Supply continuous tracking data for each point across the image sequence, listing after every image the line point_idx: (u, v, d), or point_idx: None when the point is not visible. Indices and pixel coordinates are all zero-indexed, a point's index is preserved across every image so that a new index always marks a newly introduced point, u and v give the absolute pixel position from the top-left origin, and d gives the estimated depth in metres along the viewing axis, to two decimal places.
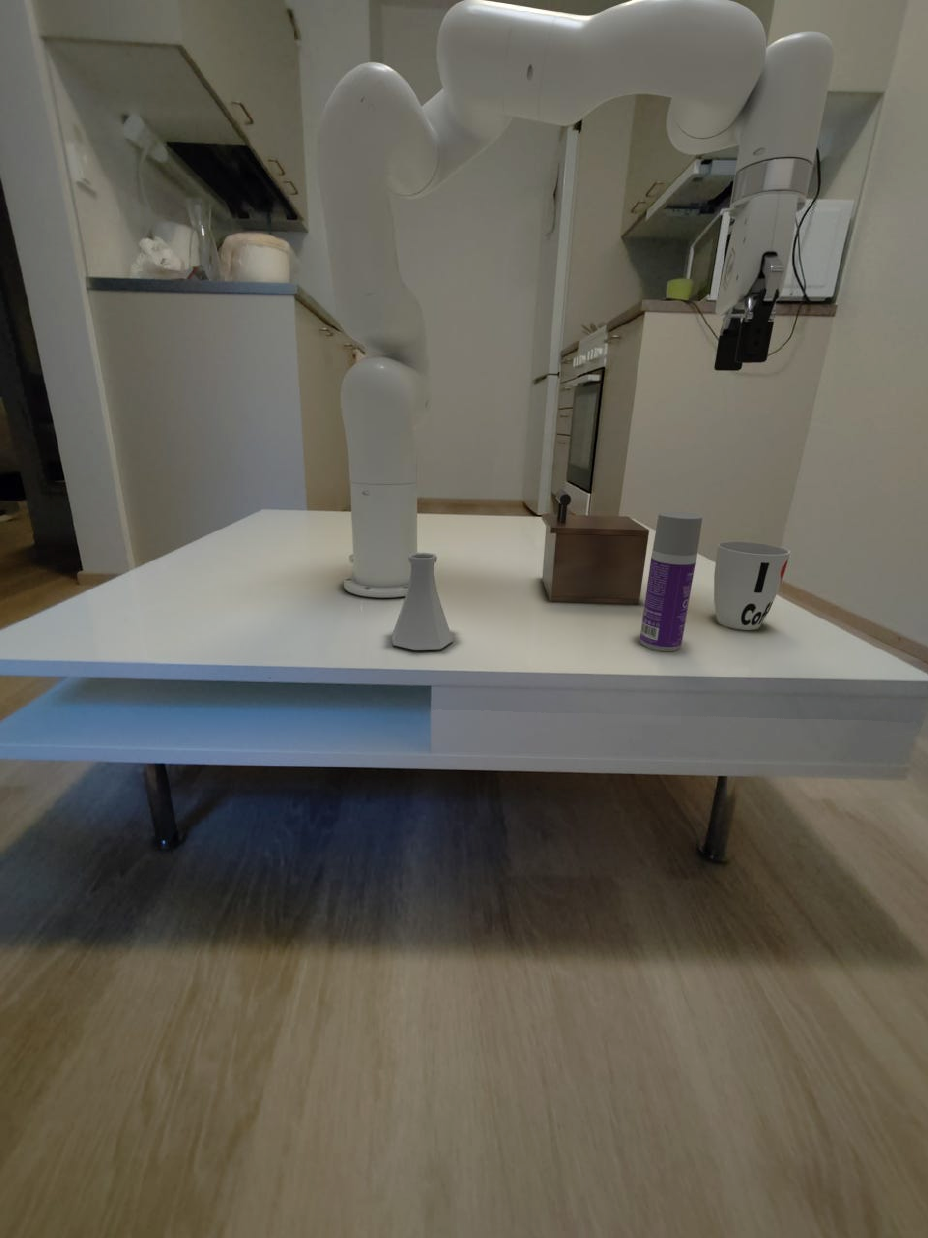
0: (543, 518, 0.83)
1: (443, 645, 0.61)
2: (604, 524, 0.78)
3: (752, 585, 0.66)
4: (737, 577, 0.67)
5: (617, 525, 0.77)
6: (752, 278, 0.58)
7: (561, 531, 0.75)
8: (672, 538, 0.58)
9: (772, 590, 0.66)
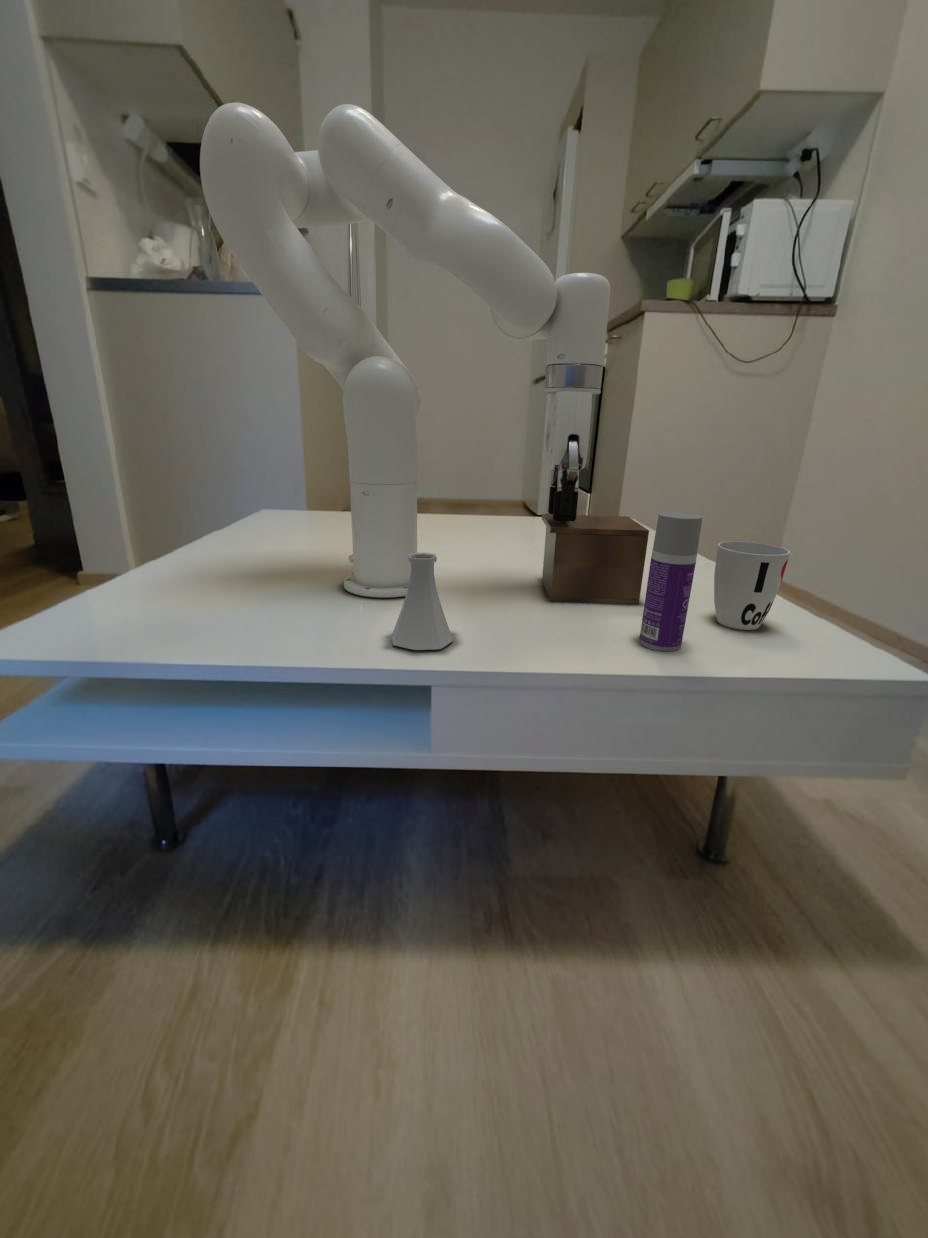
0: (543, 518, 0.83)
1: (443, 645, 0.61)
2: (604, 524, 0.78)
3: (752, 585, 0.66)
4: (737, 577, 0.67)
5: (617, 525, 0.77)
6: (562, 453, 0.72)
7: (561, 531, 0.75)
8: (672, 538, 0.58)
9: (772, 590, 0.66)
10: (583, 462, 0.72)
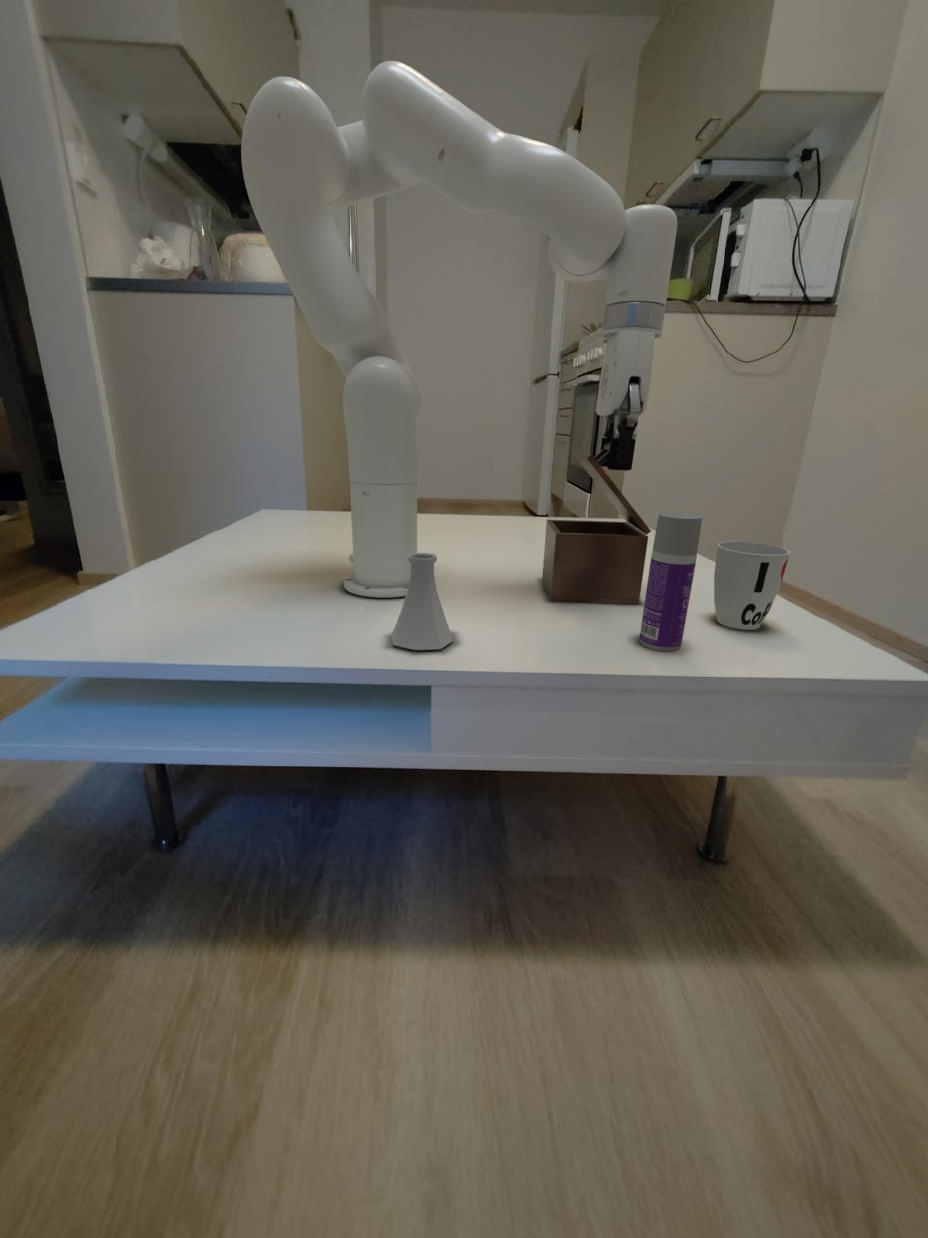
0: (578, 452, 0.80)
1: (443, 645, 0.61)
2: None
3: (752, 585, 0.66)
4: (737, 577, 0.67)
5: None
6: (622, 396, 0.69)
7: (595, 466, 0.72)
8: (672, 538, 0.58)
9: (772, 590, 0.66)
10: (643, 406, 0.70)
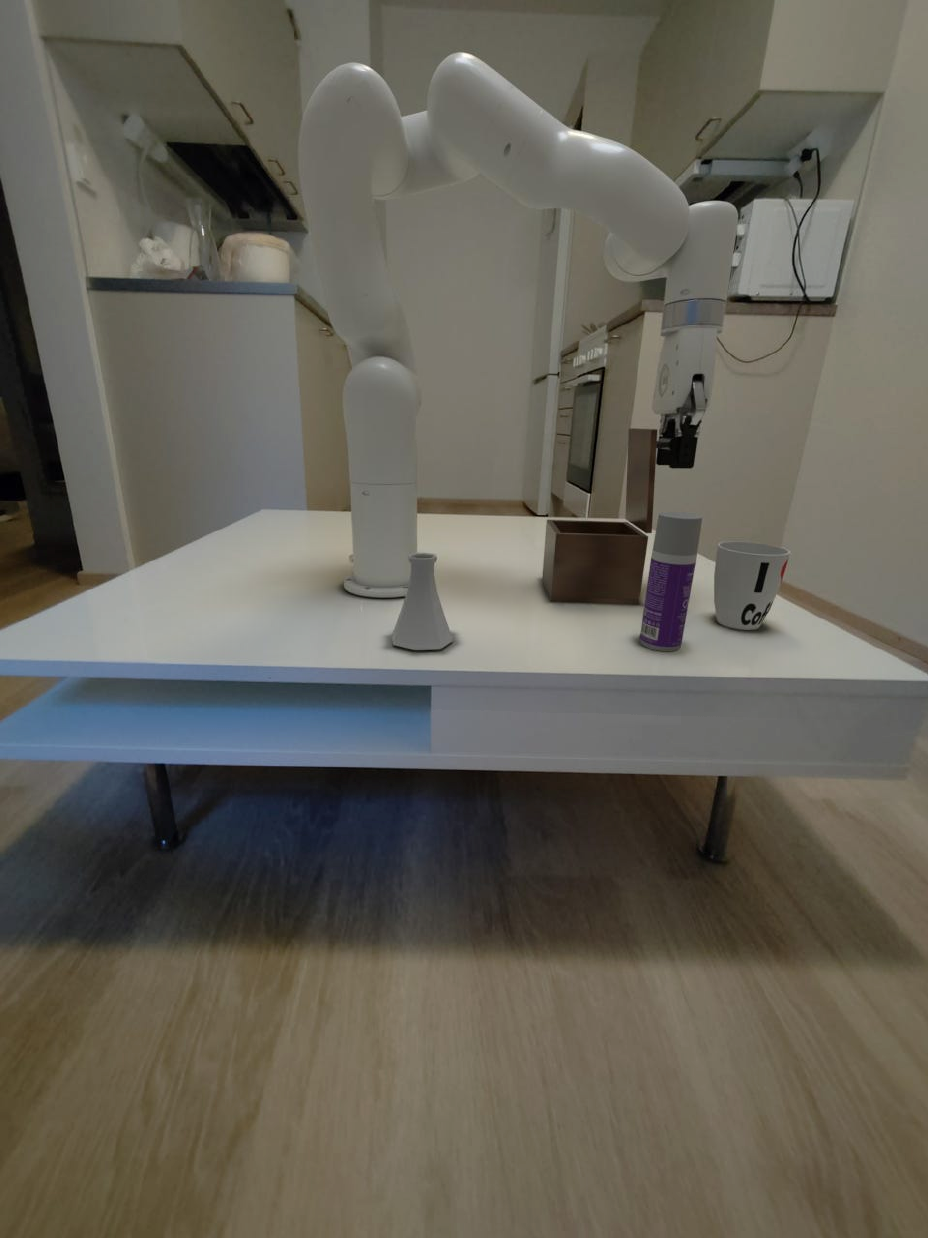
0: None
1: (443, 645, 0.61)
2: None
3: (752, 585, 0.66)
4: (737, 577, 0.67)
5: None
6: (685, 394, 0.69)
7: (652, 441, 0.70)
8: (672, 538, 0.58)
9: (772, 590, 0.66)
10: (707, 403, 0.70)
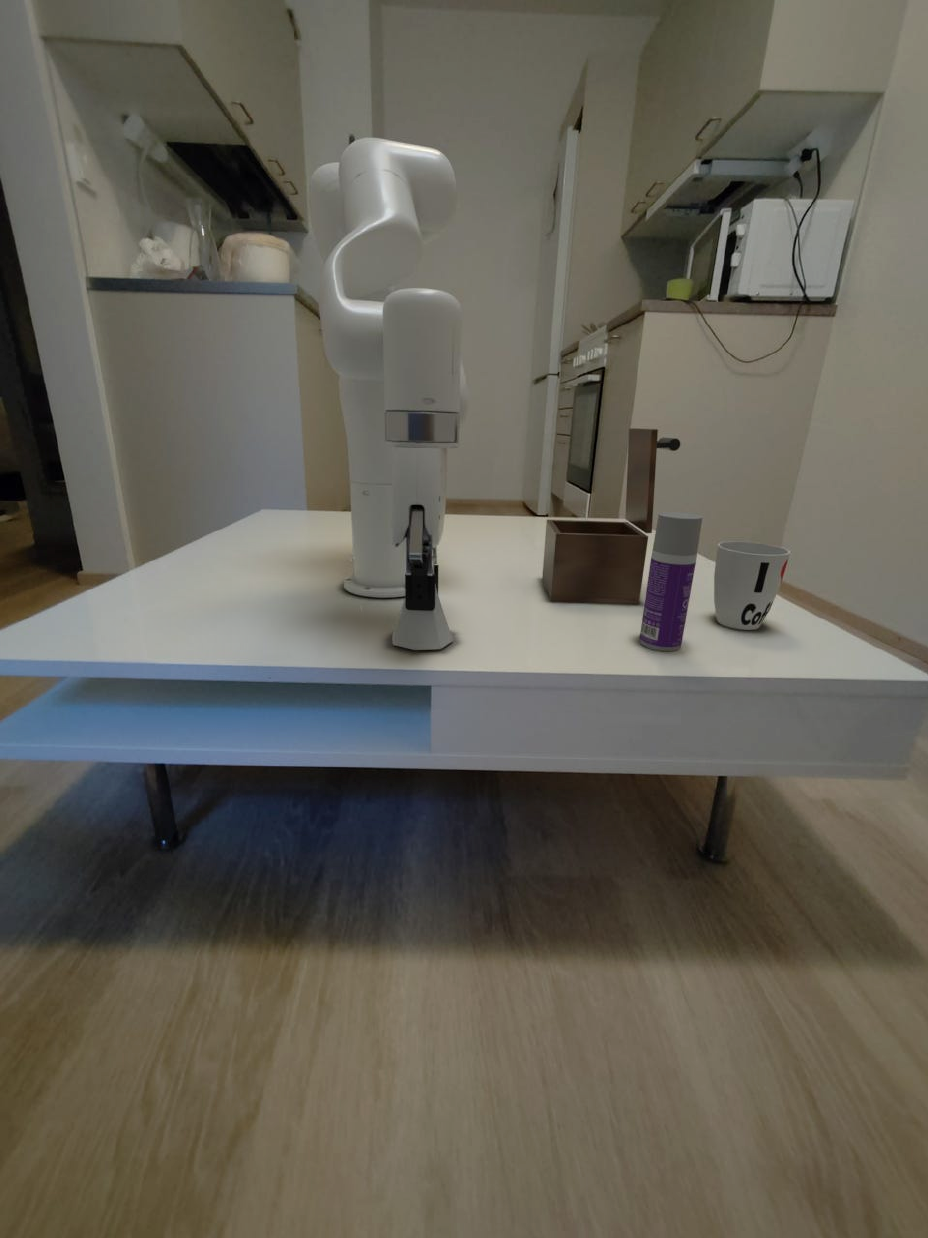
0: (636, 428, 0.79)
1: (443, 645, 0.61)
2: None
3: (752, 585, 0.66)
4: (737, 577, 0.67)
5: None
6: (403, 529, 0.54)
7: (653, 441, 0.70)
8: (672, 538, 0.58)
9: (772, 590, 0.66)
10: (433, 540, 0.54)
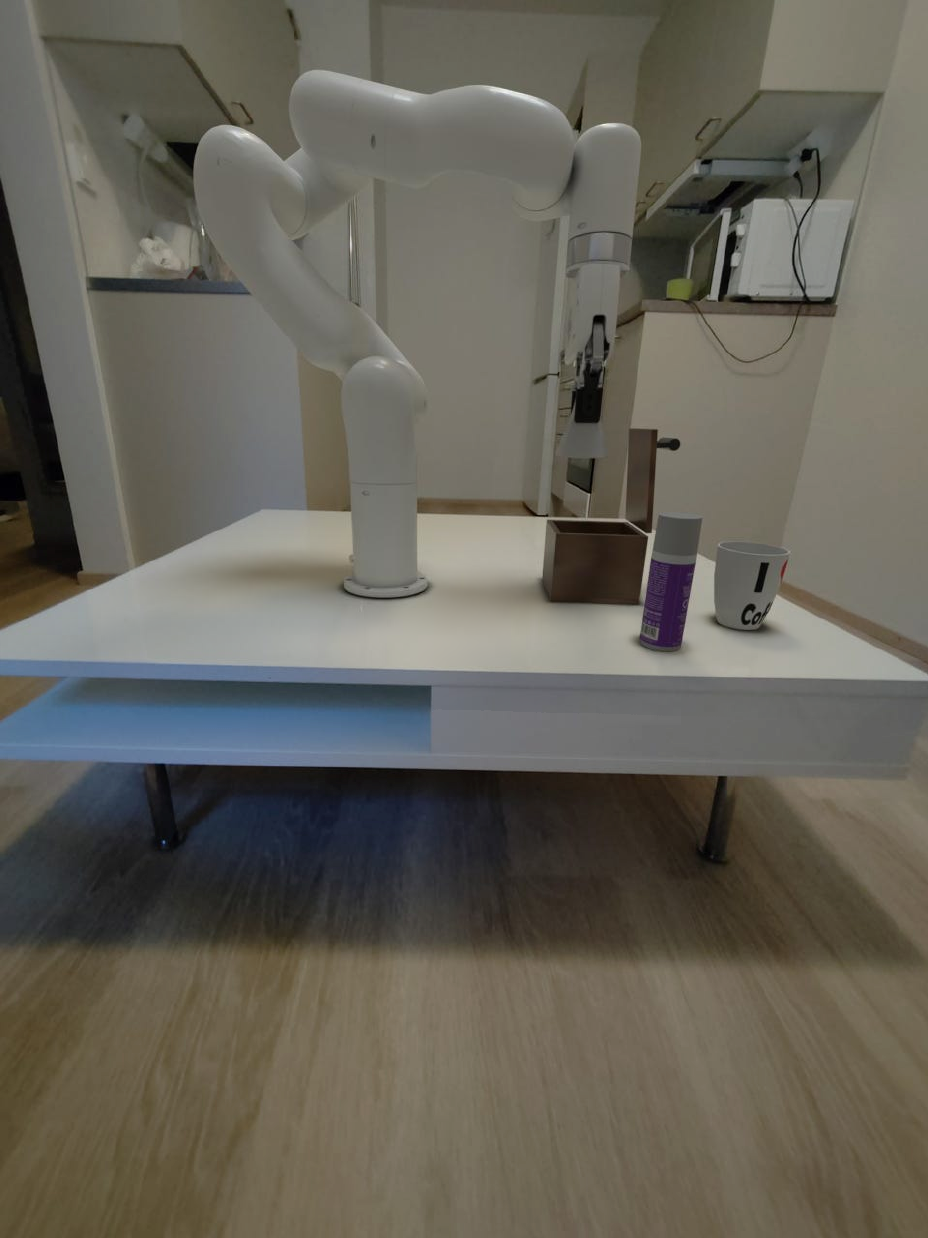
0: (636, 428, 0.79)
1: (604, 455, 0.71)
2: None
3: (752, 585, 0.66)
4: (737, 577, 0.67)
5: None
6: (586, 338, 0.64)
7: (653, 441, 0.70)
8: (672, 538, 0.58)
9: (772, 590, 0.66)
10: (610, 348, 0.64)
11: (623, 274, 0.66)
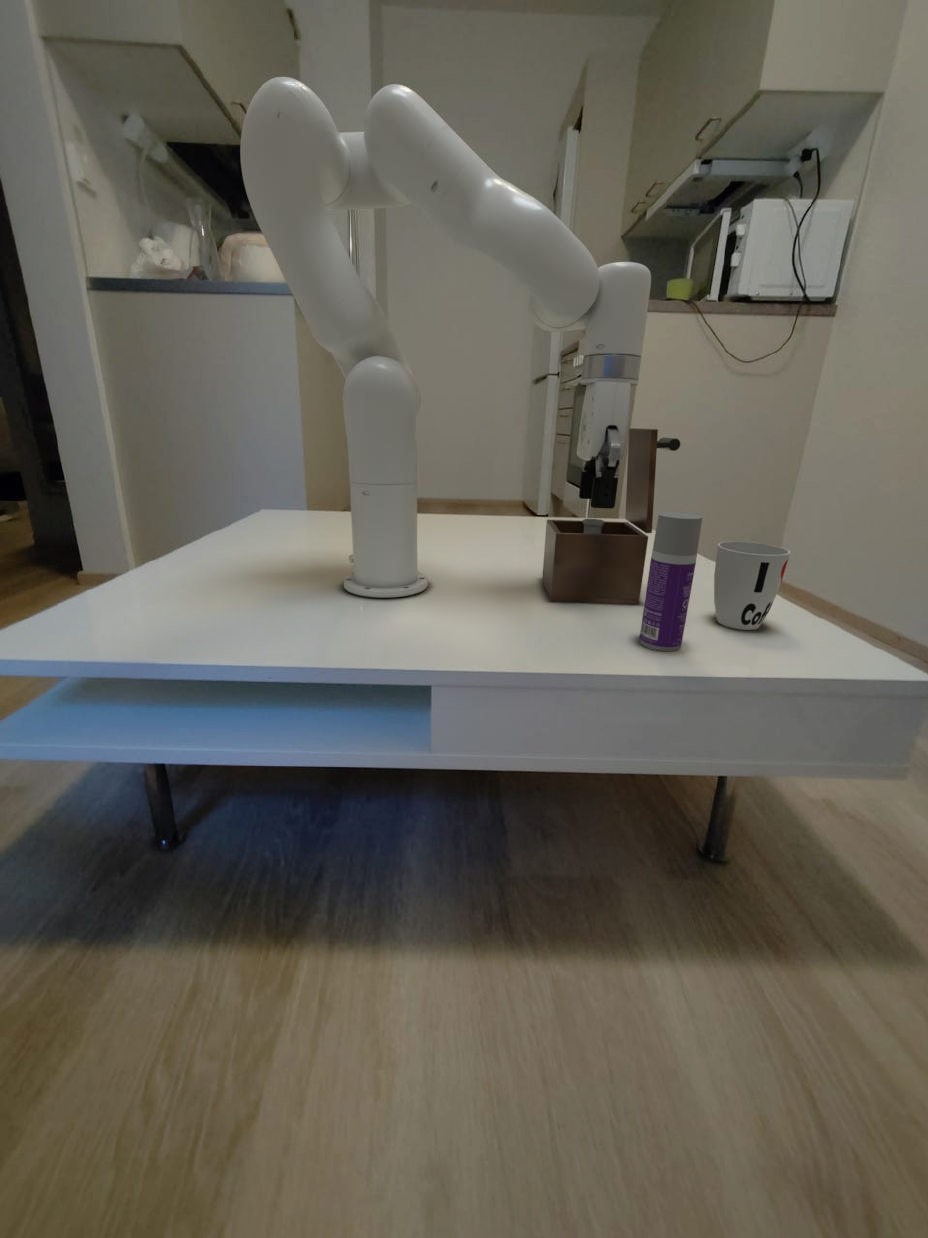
0: (636, 428, 0.79)
1: None
2: None
3: (752, 585, 0.66)
4: (737, 577, 0.67)
5: None
6: (599, 444, 0.71)
7: (653, 441, 0.70)
8: (672, 538, 0.58)
9: (772, 590, 0.66)
10: (620, 453, 0.72)
11: (632, 384, 0.74)
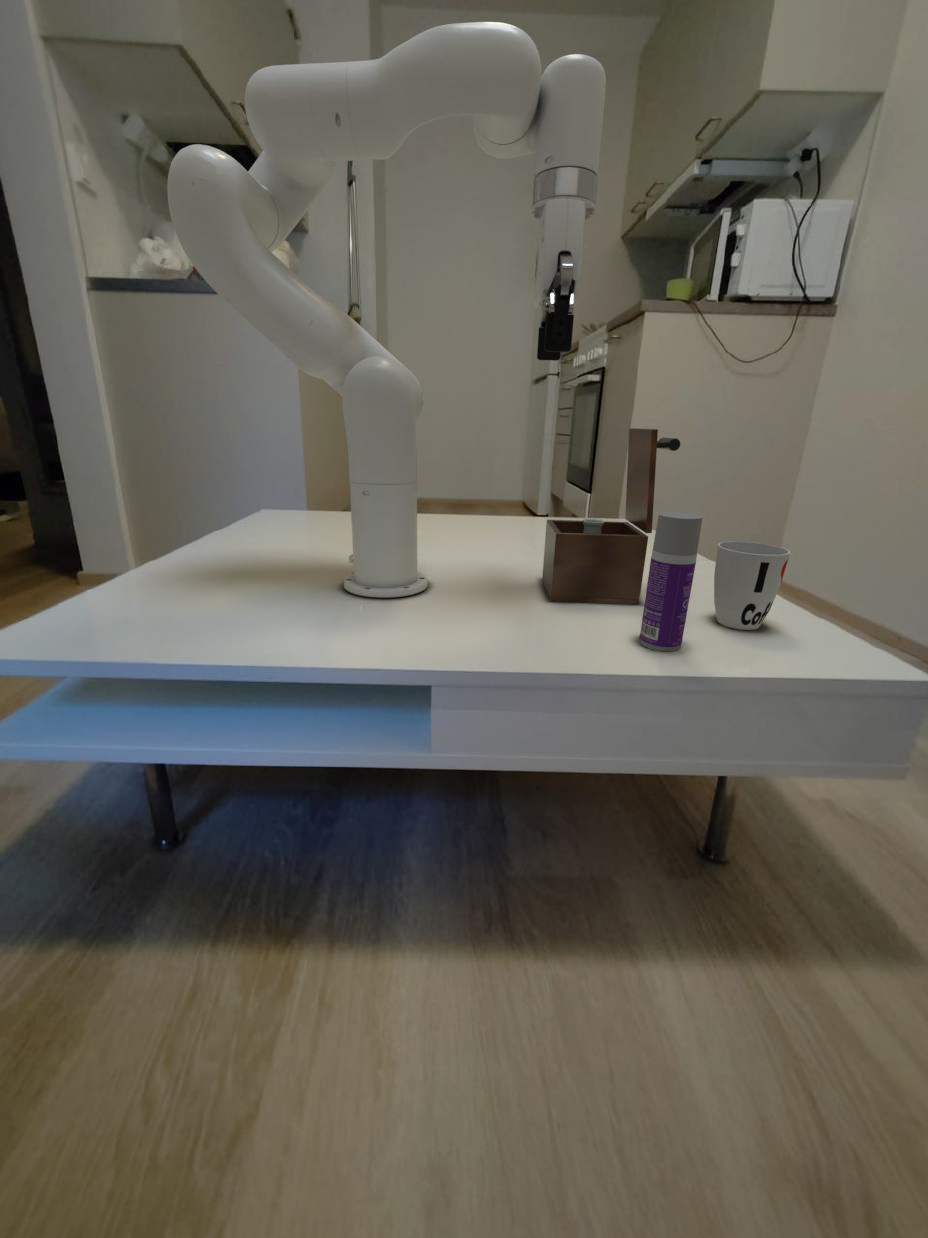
0: (636, 428, 0.79)
1: None
2: None
3: (752, 585, 0.66)
4: (737, 577, 0.67)
5: None
6: (552, 274, 0.64)
7: (653, 441, 0.70)
8: (672, 538, 0.58)
9: (772, 590, 0.66)
10: (575, 285, 0.64)
11: (589, 214, 0.67)
